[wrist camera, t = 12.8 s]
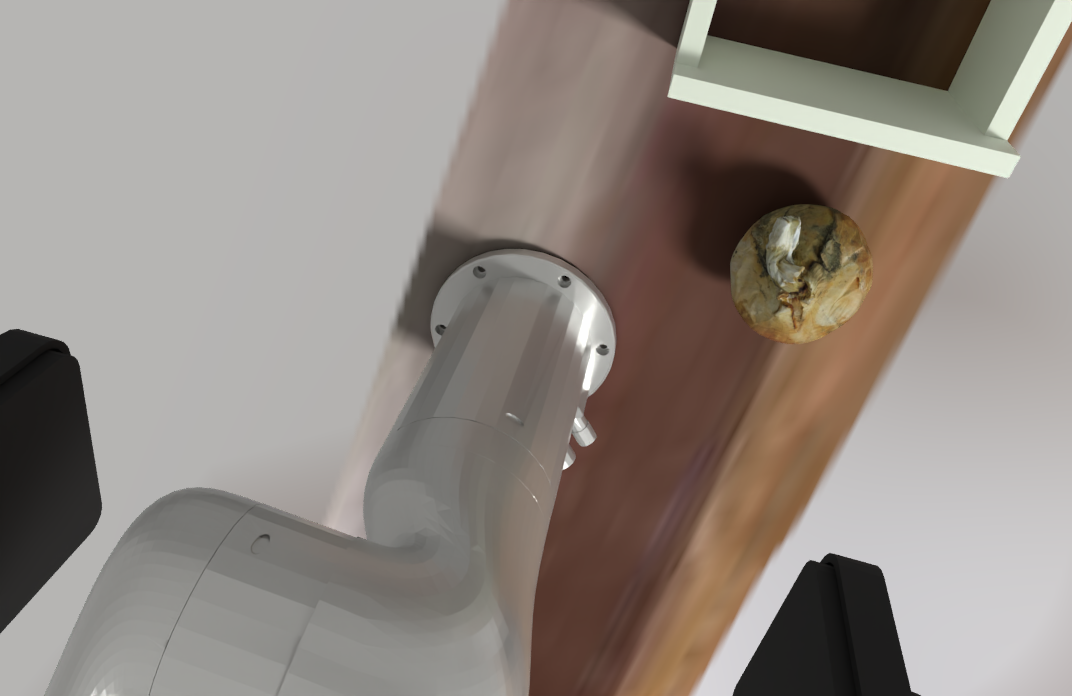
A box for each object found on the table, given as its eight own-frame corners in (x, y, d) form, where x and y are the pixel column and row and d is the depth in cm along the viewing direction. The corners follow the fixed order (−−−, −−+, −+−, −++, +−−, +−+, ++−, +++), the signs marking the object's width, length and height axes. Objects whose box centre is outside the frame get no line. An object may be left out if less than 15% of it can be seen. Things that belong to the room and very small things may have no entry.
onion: (698, 264, 49) (695, 333, 42) (782, 159, 44) (792, 217, 38) (800, 325, 50) (811, 401, 43) (891, 227, 45) (920, 296, 39)
